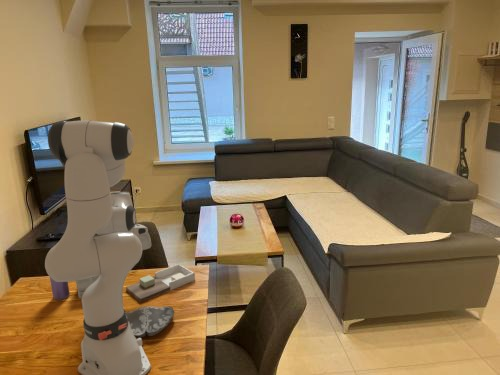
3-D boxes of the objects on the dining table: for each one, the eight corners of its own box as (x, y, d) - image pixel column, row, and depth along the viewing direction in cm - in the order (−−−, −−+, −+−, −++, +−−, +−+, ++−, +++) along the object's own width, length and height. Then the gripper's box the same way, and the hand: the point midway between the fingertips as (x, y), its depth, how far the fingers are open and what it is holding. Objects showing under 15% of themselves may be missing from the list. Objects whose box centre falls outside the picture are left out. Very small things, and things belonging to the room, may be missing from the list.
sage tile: (154, 283, 155) (154, 278, 155) (144, 287, 152) (144, 282, 152) (149, 280, 159) (149, 275, 158) (139, 283, 156) (139, 278, 155)
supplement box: (124, 277, 166) (121, 257, 163) (122, 291, 153) (120, 271, 151) (83, 283, 161) (80, 263, 159) (78, 298, 149) (75, 277, 147)
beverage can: (65, 300, 148) (59, 265, 144) (50, 300, 148) (44, 266, 144) (72, 292, 153) (67, 259, 150) (58, 293, 154) (52, 259, 150)
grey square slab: (170, 290, 153) (170, 286, 153) (140, 302, 145) (140, 298, 144) (155, 279, 162) (154, 276, 162) (126, 290, 154) (126, 286, 154)
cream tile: (186, 281, 159) (185, 276, 159) (177, 284, 156) (176, 279, 156) (180, 277, 163) (180, 272, 162) (171, 281, 160) (171, 276, 159)
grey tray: (194, 280, 161) (194, 272, 160) (170, 290, 153) (169, 282, 152) (179, 270, 170) (178, 263, 169) (155, 279, 162) (154, 272, 161)
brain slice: (115, 348, 119) (114, 340, 119) (118, 318, 135) (117, 311, 134) (177, 336, 124) (176, 328, 124) (173, 309, 140) (172, 301, 140)
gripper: (100, 241, 136) (104, 276, 139) (151, 227, 149) (154, 259, 152) (93, 237, 140) (98, 270, 144) (144, 223, 153) (147, 254, 157)
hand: (127, 264), depth 148 cm, fingers closed
